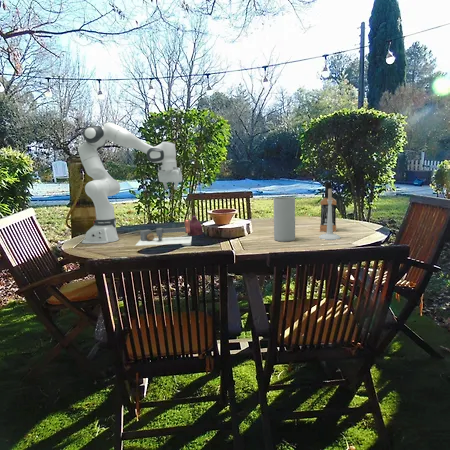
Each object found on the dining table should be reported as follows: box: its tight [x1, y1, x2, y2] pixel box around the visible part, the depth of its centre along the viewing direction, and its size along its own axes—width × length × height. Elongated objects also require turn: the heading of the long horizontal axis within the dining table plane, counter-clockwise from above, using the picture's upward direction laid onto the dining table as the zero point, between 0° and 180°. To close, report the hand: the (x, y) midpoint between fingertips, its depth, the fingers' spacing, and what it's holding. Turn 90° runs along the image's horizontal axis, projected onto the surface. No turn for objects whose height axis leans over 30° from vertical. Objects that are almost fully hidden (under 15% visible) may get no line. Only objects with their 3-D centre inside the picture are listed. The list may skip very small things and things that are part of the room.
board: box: [135, 229, 193, 247], centre depth 238 cm, size 32×21×7 cm, turn 93°
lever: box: [155, 219, 191, 237], centre depth 239 cm, size 20×7×8 cm, turn 97°
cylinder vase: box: [273, 196, 296, 243], centre depth 234 cm, size 12×12×25 cm
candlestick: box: [318, 188, 342, 241], centre depth 234 cm, size 13×13×30 cm
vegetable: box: [186, 214, 204, 236], centre depth 262 cm, size 10×10×15 cm
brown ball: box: [147, 232, 155, 241], centre depth 240 cm, size 4×4×4 cm
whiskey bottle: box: [319, 181, 337, 232], centre depth 258 cm, size 10×10×32 cm
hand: (170, 189), depth 251 cm, fingers open, 8 cm apart
